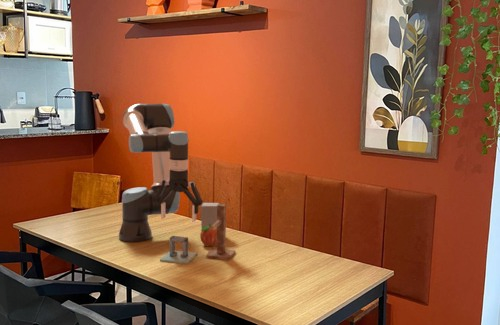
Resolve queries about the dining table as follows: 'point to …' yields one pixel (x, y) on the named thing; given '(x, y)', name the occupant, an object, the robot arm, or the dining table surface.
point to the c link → (172, 246)
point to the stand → (220, 236)
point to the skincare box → (208, 214)
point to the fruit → (208, 236)
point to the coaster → (178, 257)
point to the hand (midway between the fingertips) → (178, 219)
